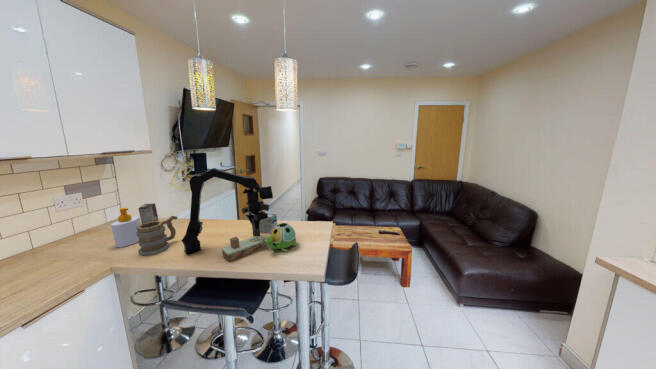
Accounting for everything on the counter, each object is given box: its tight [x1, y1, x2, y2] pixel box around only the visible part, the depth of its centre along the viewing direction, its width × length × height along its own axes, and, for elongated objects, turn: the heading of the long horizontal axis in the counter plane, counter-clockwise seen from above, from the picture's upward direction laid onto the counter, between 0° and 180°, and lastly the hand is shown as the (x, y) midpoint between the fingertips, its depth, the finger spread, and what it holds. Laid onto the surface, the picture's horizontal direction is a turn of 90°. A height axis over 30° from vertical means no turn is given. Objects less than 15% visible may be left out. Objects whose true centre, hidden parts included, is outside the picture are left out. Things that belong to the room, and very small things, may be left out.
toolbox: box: [221, 243, 265, 263], centre depth 121 cm, size 18×8×4 cm, turn 134°
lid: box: [220, 235, 266, 255], centre depth 120 cm, size 19×8×5 cm, turn 134°
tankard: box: [136, 215, 178, 256], centre depth 128 cm, size 20×13×15 cm, turn 147°
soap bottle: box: [110, 207, 142, 248], centre depth 134 cm, size 13×8×20 cm, turn 161°
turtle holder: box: [264, 222, 297, 253], centre depth 123 cm, size 12×18×12 cm
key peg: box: [251, 223, 261, 237], centre depth 132 cm, size 3×3×8 cm
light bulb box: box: [259, 212, 278, 234], centre depth 145 cm, size 11×7×11 cm, turn 74°
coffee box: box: [138, 203, 160, 224], centre depth 152 cm, size 9×6×16 cm
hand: (255, 227), depth 132 cm, fingers closed on key peg, 3 cm apart
